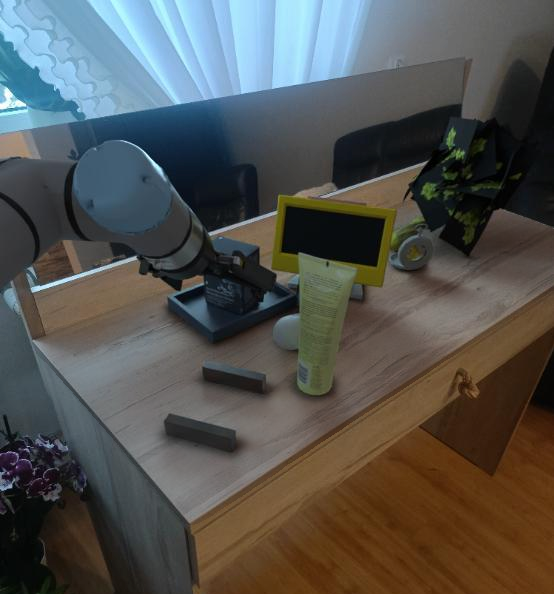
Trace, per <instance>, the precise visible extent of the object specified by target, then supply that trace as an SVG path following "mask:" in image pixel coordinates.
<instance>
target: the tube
mask: <svg viewBox="0 0 554 594" xmlns="http://www.w3.org/2000/svg"><path fill="white" fill-rule="evenodd" d="M298 262H299V286H300V310H299V314H300V317H299V348H298V355H297V356H298V357H297V374H296V375H297V377H296V384H297V387H298V389H299V390H300V391H302V393H305V394H308V395H310V396H322V395H325V394H327V393H329V392H330V390H331V389H332V386H333V380H334V375H335V368H336V362H337V357H338V351H339V346H340V341H341V336H342V331H343V327H344V322H345V317H346V313H347V308H348V304H349V300H350V298H349V296H350V292H351V289H352V285H353V282H354V279H355V276H356V273H357V268H354V267H349V266H346V265H342V264H338V263H335V262H331V261H327V260H324V259H320V258H317V257H313V256H310V255H306V254H303V253H298Z"/></svg>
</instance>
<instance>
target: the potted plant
mask: <svg viewBox="0 0 554 594" xmlns="http://www.w3.org/2000/svg"><path fill="white" fill-rule="evenodd" d="M538 144H539V140H537V141H534V142H530V143H529V141H528V136H526V137H524V138H523V139H521V140H520V139H518V138H517V137H515V135H514V134H513V131H512V128H511V125H510V122H506V123H503V124H502V125H500V123H499V121H498V120H497V118H496V116H493V117H492V118H490V119H486V120H485V121H484V122H483V121H482V120H480V119H476V118H474V119H472V118H465V117H456V116H450V117H449V121H448V123H447V127H446V130H445V133H444V134H442V135H440V145H439V147H438V148H437V149H434V150H432V151H429V150H426V152H427V153H429V154H430V155H429V159H428V161H427V162H426V163H425V164H424V166H423V167H422V168H421V170H420V171H419V172H418V173H417V175H415V176H414V177H413V178H412V179H413V180H412V181H411V182H409V183H407V185H408V187H407V190H406V192H405V194H404V196H403V199H402V204H403V203H404V202H405V201H406V199H407V197H408V196H409V195H410V193H411V194H412V195H411V196H410V198H409V199H411V200H412V201H414V202H416V205H417V208H418V209H419V211H420V214H421V215H422V216H419V217H415V218H414V219H413V220H411V221H410V222H409V223H408V224H406V225H403V226H402V227H399V228H398V229H397V230H395V231H393V234H392V240H391V245H390V250H389V251H394V252H398V251H399V248H400V246H401V245H402V244H403V242H404V241H405V240H407V239H408V238H410V237H412V236H415V235H418V232H417V231H416V230H418V229H419V228H420V227H422V229H423V230H424V229H425V228H427V227H426V226H425V225H419V224H427V225H428V228H427V229H426V230H424V231H427V230H429V232H430V233H433V232H435V231H437V230H438V229H440V228H442V227H443V229H442V230H441V232H440V233H439V236H438V237H437V238H439V239H440V240H441V241H443V242H445V243H446V244H448V245H450V246H451V247H452V248H455V249H456V250H457V251H459V252H460V253H462V254H463V255H464V256H466V257H467V258H469V257H470V256H471V253H472V252H473V250H474V248H475V247H476V245H477V244H478V242H479V241H480V239H481V237H482V235H483V233H484V231H485V230H486V228H487V226H488V224H489V222H490V220H491V219H492V215H493V214H494V212H495V211H499V210H501V209H502V210H504V209H505V207H506V205H508V202H509V201H510V200H511V198H512V197H513V196H514V194H515V192H516V191H517V189H518V188H519V187H520V185H521V183H523V182H524V181H525V182H526V179H527V174H528V173H529V171H530V170H531V169H532V167H533V165H534V164H535V163H536V161H537V159H538V158H539V156H540V155H541V154H542V150H540V149H538V148H537V146H538ZM416 225H419V226H417V227H416V230H414V227H415V226H416Z"/></svg>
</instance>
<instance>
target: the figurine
mask: <svg viewBox="0 0 554 594" xmlns="http://www.w3.org/2000/svg"><path fill="white" fill-rule="evenodd" d="M299 317H300V313H294V314H288V315H286V316H283V317H280V318H279V319H278V320H277V321H276V323H275V325H274V327H273V329H272V337H273V340H274V342H275V343H276V344H277V345H278V346H279V347H280V348H282V349H283V350H287V351H294V350H299Z"/></svg>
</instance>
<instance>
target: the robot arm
mask: <svg viewBox="0 0 554 594" xmlns="http://www.w3.org/2000/svg"><path fill="white" fill-rule="evenodd" d="M212 240H213V239H212V237H211V235H210V234H209V232H208V230H207V229H206V228H205V226H204V225H203V224H202V223H201V221H200V220H199V218H198V217H197V215H196V214H195V212H193V210H192V209H191V208H190V206H189V205H188V204H187V203H186V201H185V200H184V199H183V198H182V197H181V195H180V194H179V193H178V191H177V190H176V188H175V187H174V185H173V184H172V183H171V181H170V179H169V176H168V175H167V173H166V172H165V171H164V169H163V168H162V167H161V166H159V164H158V163H156V162H155V161H154V160H153V159H152V158H151V157H150V156H149V155H148V154H147V153H146V152H145V151H144V150H143V149H142V148H141V147H139V146H138V145H136V144H133V143H132V142H129V141H126V140H121V139H111V140H105V141H103V142H102V143H101V144H99V145H97V146H93V147H91V148H89V149H88V150H87V151H86V152H85V153H84V154H83V155H82V156H81V157H80V159H79V160H72V159H71V160H70V159H69V160H68V159H50V158H49V159H45V158H29V157H26V156H24V157H23V156H10V157H6V158H5V157H4V158H0V291H2V290H3V289H4V288H6V286H7V285H8V284H10V283H11V282H12V281H13V280H14V279H16V278H17V277H18V276H19V275H20V274H21V273H23V272H24V270H26V269H27V268H28V267H30V266H31V265H33V264H34V263H36V262H37V261H38V260H39V259H40V258H41V257H42V256H44V255H45V254H46V253H47V252H49V251H50V250H51V249H52V248H53V247H55V246H56V245H57V244H58V243H59V242H62V241H76V242H92V243H93V242H98V243H99V242H100V243H116V244H117V243H118V244H124V245H126V246H128V247H129V248H130V249H132V250H133V251H134V252H135V253H136V257H135V258H136V260H137V261H139V262H140V263H139V267H138V274H139V275H141V276H147V275H148V273H149V274H151V277H153V278H154V279H160V280H161V281H162V282H163V283H165V284H166V285H168V286H169V287H171V288H172V289H173V290H174V291H177V292H180V291H182V287H183V282H184V281H185V280H190V279H194V278H195V277H197V276H198V277H203V276H207V277H209V278H212V279H215V280H221V279H226V280H228V281H231V282H234V283H237V284H239V285H242V286H245V287H247V288H250V292H251V293H252V294H253V296H254V297H255V298H256V300H257V301H258V302H262V303H263V300H264V295H265V294H267V291H268V292H274V289H275V283H276V282H277V277H278V274H277V273H275V271H273V270H271V269H269V268H267V267H264V265H261V263H260V264H258V263H256V262H254V261H252V260H251V259H249V258H247V257H246V256H245V255H244V254H243V253H242V252H240V251H239V250H233V251H232V255H231V256H227V255H226V254H224V253H222V252H219V251H217V250H215V249H214V247H213V243H212ZM214 270H216V273H214V272H212V271H214Z"/></svg>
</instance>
